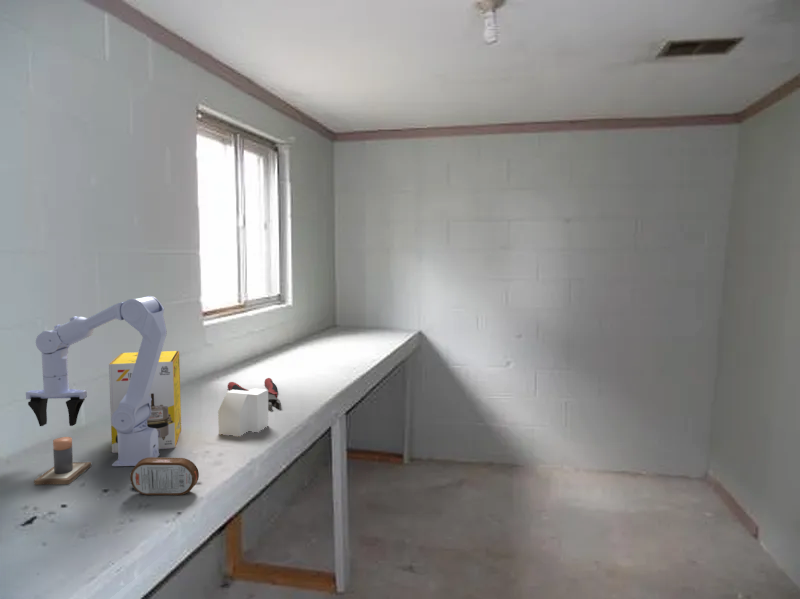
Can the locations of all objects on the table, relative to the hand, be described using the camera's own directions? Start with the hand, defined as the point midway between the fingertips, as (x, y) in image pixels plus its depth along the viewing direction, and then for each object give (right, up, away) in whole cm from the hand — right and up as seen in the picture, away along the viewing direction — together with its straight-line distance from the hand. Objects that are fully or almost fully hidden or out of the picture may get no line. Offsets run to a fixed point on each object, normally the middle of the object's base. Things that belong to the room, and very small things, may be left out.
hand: (58, 424), depth 147 cm
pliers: (+36, -5, +63) cm, 73 cm away
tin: (+36, -12, -18) cm, 42 cm away
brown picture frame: (+7, -10, -9) cm, 16 cm away
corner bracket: (+42, -8, +26) cm, 50 cm away
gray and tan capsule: (+7, -9, -9) cm, 15 cm away
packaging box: (+17, -8, +16) cm, 25 cm away
